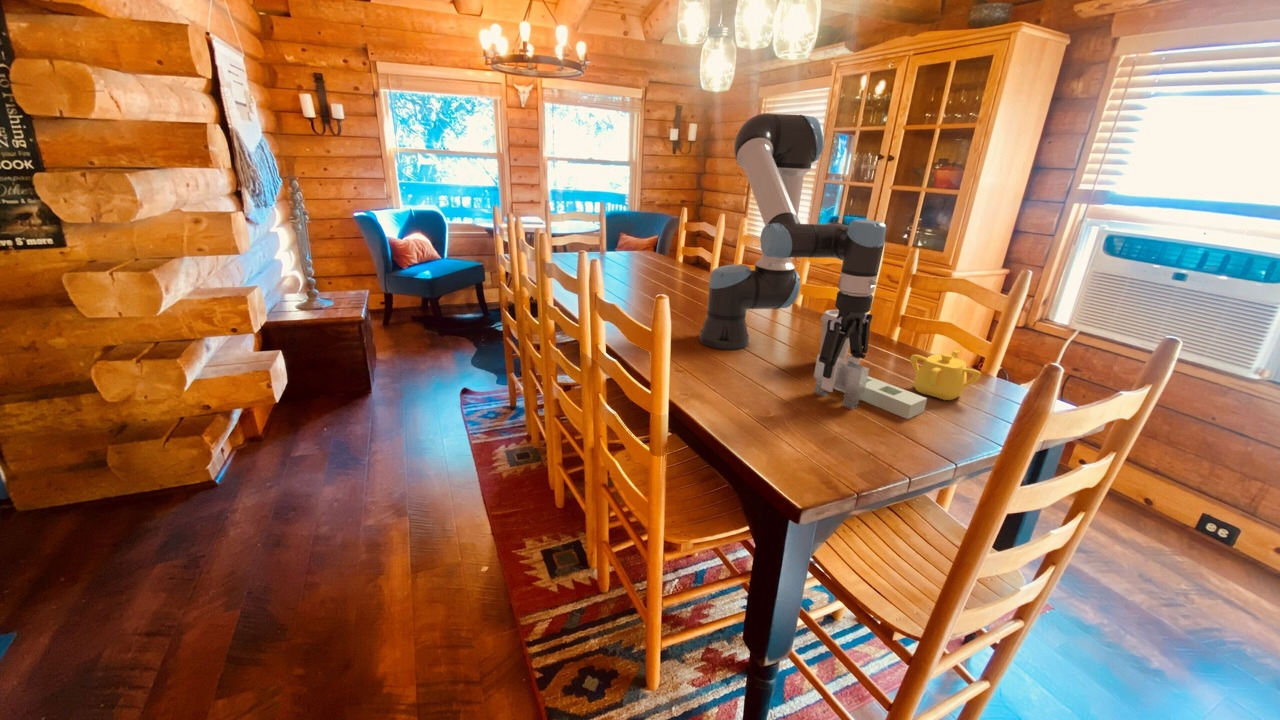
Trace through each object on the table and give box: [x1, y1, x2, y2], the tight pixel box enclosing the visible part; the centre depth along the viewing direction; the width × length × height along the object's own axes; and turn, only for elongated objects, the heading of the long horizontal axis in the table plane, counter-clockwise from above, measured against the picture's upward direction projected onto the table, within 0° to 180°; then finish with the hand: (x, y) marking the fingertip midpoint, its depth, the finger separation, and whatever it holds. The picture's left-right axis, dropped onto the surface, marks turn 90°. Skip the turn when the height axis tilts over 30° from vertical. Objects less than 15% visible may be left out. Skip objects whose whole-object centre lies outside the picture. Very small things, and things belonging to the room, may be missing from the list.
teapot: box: [910, 348, 982, 401], centre depth 131 cm, size 14×13×10 cm
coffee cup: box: [819, 309, 850, 360], centre depth 145 cm, size 10×10×15 cm
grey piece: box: [813, 353, 870, 410], centre depth 124 cm, size 12×3×10 cm, turn 35°
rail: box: [833, 375, 928, 420], centre depth 127 cm, size 22×7×4 cm, turn 35°
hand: (838, 385), depth 125 cm, fingers open, 8 cm apart
